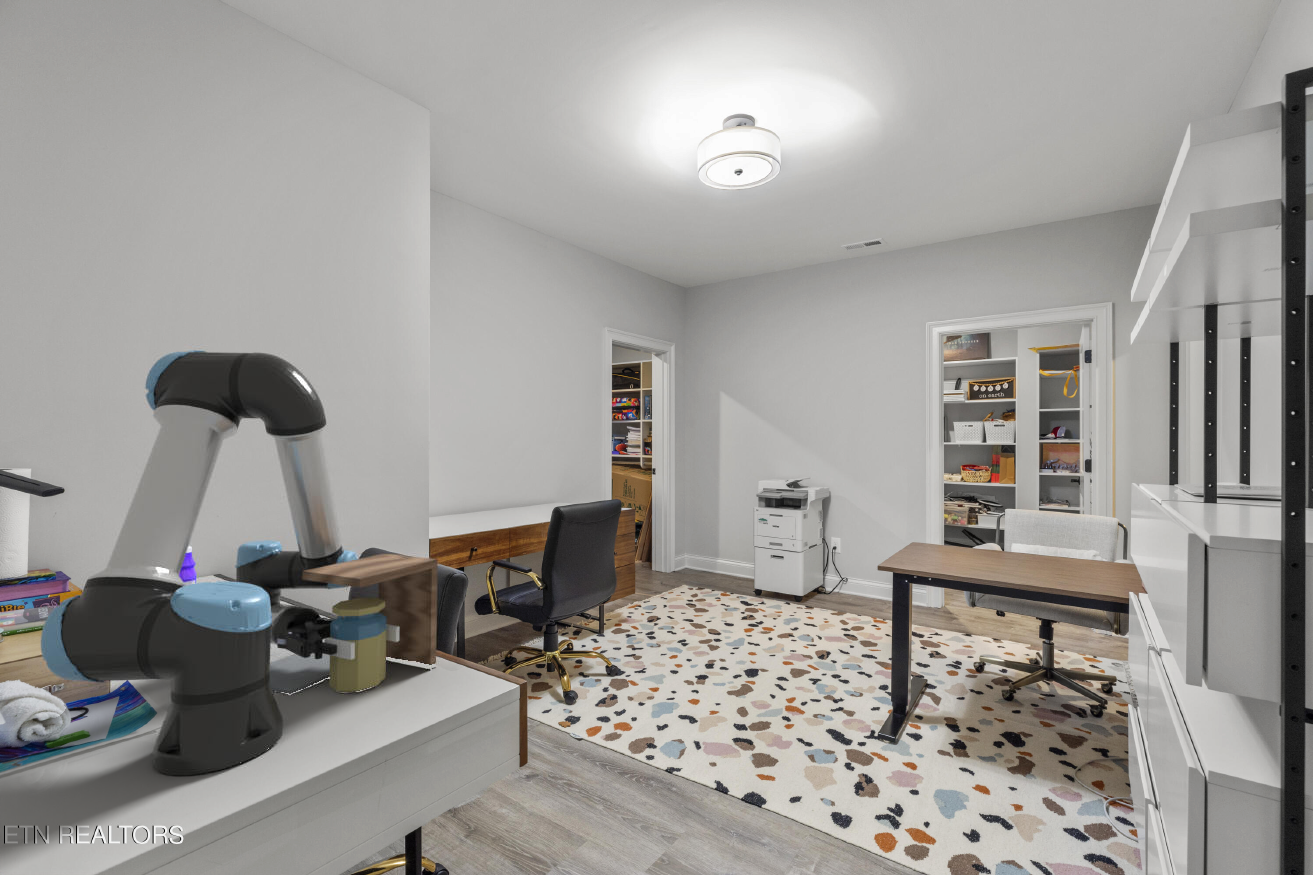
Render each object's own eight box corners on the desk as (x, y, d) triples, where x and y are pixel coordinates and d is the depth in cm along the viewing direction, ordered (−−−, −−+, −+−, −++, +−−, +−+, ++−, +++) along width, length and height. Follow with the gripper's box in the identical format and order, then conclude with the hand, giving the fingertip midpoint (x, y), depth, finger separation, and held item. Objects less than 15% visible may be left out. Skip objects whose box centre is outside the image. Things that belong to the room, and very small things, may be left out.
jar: (357, 699, 101) (358, 612, 102) (317, 691, 104) (318, 607, 104) (396, 679, 110) (397, 599, 110) (358, 672, 113) (359, 595, 113)
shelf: (435, 667, 116) (437, 559, 116) (357, 705, 99) (359, 578, 99) (383, 656, 121) (384, 553, 122) (300, 691, 104) (302, 571, 105)
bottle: (200, 615, 148) (201, 547, 148) (172, 621, 143) (173, 550, 143) (188, 611, 152) (189, 544, 152) (160, 616, 147) (161, 547, 147)
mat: (366, 663, 117) (366, 659, 117) (289, 695, 103) (289, 691, 103) (310, 652, 123) (310, 648, 123) (230, 680, 109) (230, 676, 109)
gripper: (339, 629, 124) (421, 643, 116) (231, 664, 104) (320, 686, 95) (340, 593, 124) (421, 606, 116) (232, 622, 104) (321, 640, 96)
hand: (376, 642), depth 106 cm, fingers closed on jar, 9 cm apart
